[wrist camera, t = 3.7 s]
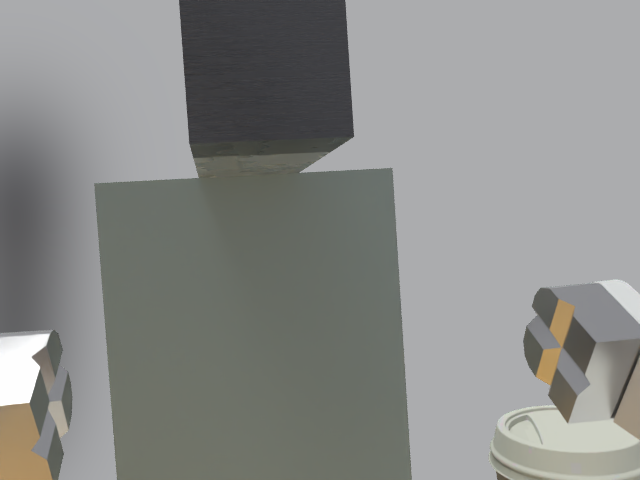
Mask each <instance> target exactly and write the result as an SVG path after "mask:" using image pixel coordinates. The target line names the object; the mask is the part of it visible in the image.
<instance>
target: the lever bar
mask: <svg viewBox="0 0 640 480" xmlns="http://www.w3.org/2000/svg"><path fill="white" fill-rule="evenodd" d="M179 5H180V19H181V33H182V46H183V59H184V60H183V61H184V75H185V87H186V102H187V116H188V129H189V144H190V147H191V151H192V154H193V158H194V161H195V165H196V168H197V173H198V176H199V178H211V177H231V176H250V175H269V174H289V173H299V172H300V171H302V170H304V169H305V168H307V167H308V166H310V165H311V164H313V163H314V162H316V161H317V160H319V159H321V158H322V157H323V156H325V155H327V154H328V153H330V152H331V151H333V150H334V149H336V148H337V147H339V146H340V145H342V144H344V143H345V142H347V141H348V140H350V139H351V138H353V137H354V133H353V132H354V131H353V115H352V100H351V84H350V68H349V53H348V37H347V21H346V7H345V6H346V5H345V0H179Z"/></svg>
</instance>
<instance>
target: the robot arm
mask: <svg viewBox="0 0 640 480" xmlns="http://www.w3.org/2000/svg"><path fill="white" fill-rule="evenodd" d="M532 307H533V309H534V311H535V313H536V314H537V316H536V317H535V318H534V319H533V320H532V321H531V322H530V323H529V324H528V325H527V327H526V331H525V336H524V341H523V342H524V351H525V357H526V360H527V362H528V365H529V367H530V369H531V370H532V372H533V373H534V375H535V376H536V377H537V378H539V379H540V380H542V381H544V382H545V383H547V384H549V385H550V388H549V394H548V396H549V397H550V399H551V400H552V401H553V403H554V404H555V406H556V407H557V409H558V410H559V412H560V413H561V415H562V416H563V418H564V419H565V420H566V422H567V423H568V424H572V423H582V422H592V421H602V420H612V419H614V420H613V422H614V423H616V424H617V425H618V426H620V427H621V428H623V429H624V430H626V431H627V432H628V433H630V434H631V435H633V436H634V437H636V438H637V439H638V440H640V295H639V294H638V293H637V292H636V291H635V290H634V289H633V288H632V287H631V286H630V285H629V284H628V283H626V282H624V281H621V280H619V279H616V280H608V281H599V282H592V283H588V284H577V285H566V286H555V287H545V288H540V289H539V291H538V292H537V293H536V295H535V297H534V301H533V304H532ZM62 351H63V350H62V345H61V342H60V338H59V335H58V333H57V332H56V331H55V330H42V331H27V332H12V333H0V480H58V477H59V473H60V468H61V464H62V459H63V455H64V453H63V449H62V445H61V441H60V438H61V437H62V436H63V435H64V434H65V433H66V432H67V431H68V430H69V425H70V420H71V415H72V414H71V413H72V391H71V382H70V378H69V374H68V371H67V370H66V369H65V368H63V367H62V366H60V365H59V363H60V359H61V354H62Z"/></svg>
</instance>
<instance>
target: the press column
mask: <svg viewBox="0 0 640 480" xmlns="http://www.w3.org/2000/svg"><path fill="white" fill-rule="evenodd" d="M392 172H393V171H392V168H387V169H386V168H385V169H366V170H347V171H329V172H308V173H289V174H269V175H250V176H231V177H211V178H192V179H172V180H153V181H135V182H114V183H95V185H94V186H95V199H96V212H97V224H98V237H99V251H100V264H101V276H102V290H103V302H104V315H105V328H106V340H107V354H108V368H109V381H110V393H111V406H112V419H113V433H114V445H115V459H116V472H117V480H412V477H411V461H410V445H409V429H408V415H407V414H408V413H407V399H406V398H407V397H406V382H405V364H404V348H403V333H402V317H401V301H400V284H399V269H398V268H399V267H398V251H397V236H396V219H395V203H394V187H393V173H392Z"/></svg>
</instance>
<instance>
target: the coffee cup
mask: <svg viewBox="0 0 640 480" xmlns="http://www.w3.org/2000/svg"><path fill="white" fill-rule="evenodd" d="M613 420H614V419H612V420H602V421H592V422H582V423H572V424H568V423H567V422H566V420H565V419H564V418H563V416H562V415H561V413H560V412H559V410H558V409H557V407H556V406H536V407H529V408H523V409H518V410H515V411H512V412H509V413H507V414H505V415H504V416H502V417H501V418H500V419H499V420H498V422H497V426H496V431H495V435H494V438H493V439H492V441H491V443H490V450H491V451H490V453H489V462H490V464H491V466H492V467H493V468H494V469H495V470H496V473H497V479H498V480H640V440H638V439H637V438H636V437H634V436H633V435H631V434H630V433H628V432H627V431H626V430H624V429H623V428H621V427H620V426H618V425H617V424H616V423H614V422H613Z"/></svg>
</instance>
